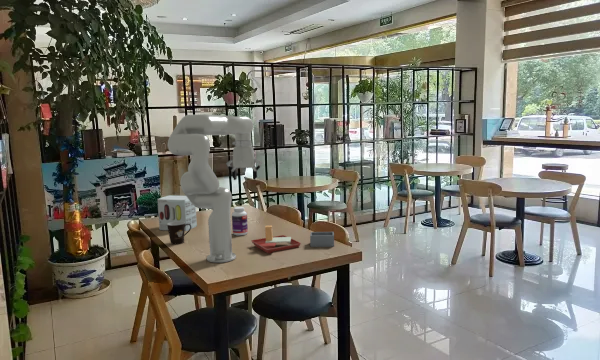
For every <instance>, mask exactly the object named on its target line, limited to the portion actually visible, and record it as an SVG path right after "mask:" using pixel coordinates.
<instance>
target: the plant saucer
mask: <svg viewBox="0 0 600 360" xmlns="http://www.w3.org/2000/svg"><path fill="white" fill-rule="evenodd" d="M274 237H288V236H286V235H285V234H282V235H277V236H276V235H275V236H274ZM250 242H251V243H252V244H253V246H255V247H256V248H258V249H259V250H261V251H263V252H265V253H267V255H268V254H272V253H273V252H279V251H284V250H290V249H294V248H299V247H300V245H302V242H299V241H298V240H295V239H293V238H291V242H288V243H289V244H290V245H283V246H279V247H276V245H277V243H265V242H266V237H264V238H263V237H262V238H258V239H257V238H256V239H253V240H251V241H250Z"/></svg>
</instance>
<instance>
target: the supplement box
mask: <svg viewBox="0 0 600 360" xmlns="http://www.w3.org/2000/svg"><path fill="white" fill-rule="evenodd" d="M196 209H197V207H195V206H194V205H193V204H192V203H191V202H190V200H189V199H188V198H187V196H186V195H166V196H163V197H160V198H157V211H158V228H159V231H168V226H167V224H168V223H171V222H185V224H190V225H191V230H192V229H194V228H196V227H197V226H198V224H197V210H196ZM190 225H186V226H185V232H188V231H189V229H190Z"/></svg>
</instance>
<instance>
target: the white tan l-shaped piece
mask: <svg viewBox="0 0 600 360" xmlns="http://www.w3.org/2000/svg"><path fill="white" fill-rule="evenodd" d="M264 231H265V238H266V242H265V243H276V244H282V243H289V242H291V239H292V236H287V237H275V236H274V235H273V225H267V224H266V225H265V227H264Z"/></svg>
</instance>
